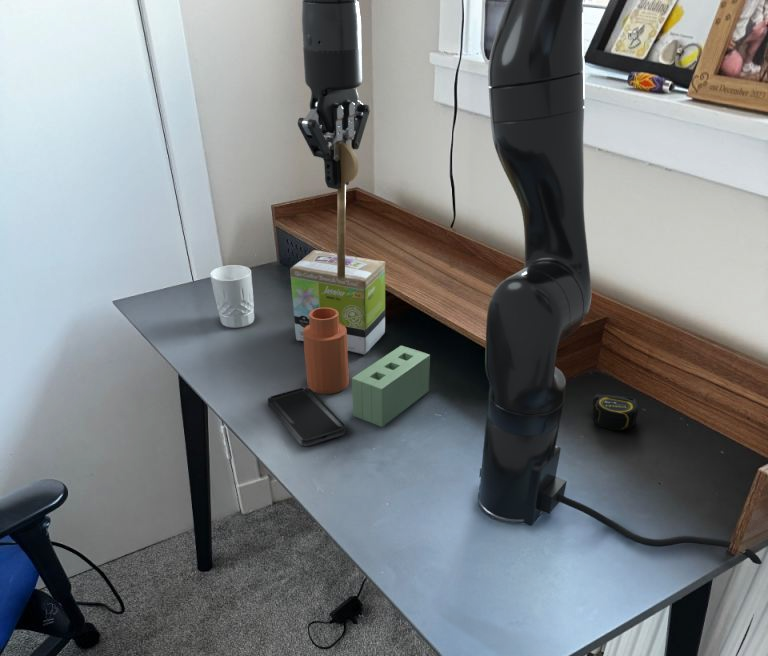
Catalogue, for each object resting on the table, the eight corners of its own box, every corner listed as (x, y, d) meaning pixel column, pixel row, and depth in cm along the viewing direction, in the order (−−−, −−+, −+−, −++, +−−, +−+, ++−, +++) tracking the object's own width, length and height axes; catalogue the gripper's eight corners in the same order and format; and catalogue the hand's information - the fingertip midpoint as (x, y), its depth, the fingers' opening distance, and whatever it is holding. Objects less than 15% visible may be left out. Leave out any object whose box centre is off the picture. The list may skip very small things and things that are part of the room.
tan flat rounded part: (356, 284, 112) (359, 146, 99) (351, 286, 111) (354, 148, 98) (330, 274, 114) (329, 138, 101) (325, 277, 113) (324, 140, 100)
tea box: (294, 342, 139) (287, 266, 129) (318, 321, 146) (313, 247, 136) (366, 356, 134) (364, 278, 125) (386, 333, 141) (386, 258, 132)
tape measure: (633, 414, 118) (638, 394, 116) (634, 437, 113) (640, 416, 110) (591, 409, 119) (595, 389, 117) (590, 431, 114) (594, 411, 112)
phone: (307, 386, 123) (347, 427, 113) (308, 391, 124) (347, 433, 114) (264, 398, 120) (301, 441, 110) (265, 404, 121) (302, 448, 111)
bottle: (356, 380, 127) (354, 311, 119) (331, 398, 123) (326, 327, 114) (325, 369, 130) (320, 300, 122) (299, 386, 126) (292, 315, 118)
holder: (428, 391, 124) (430, 354, 120) (382, 427, 116) (381, 388, 111) (400, 381, 127) (401, 345, 122) (353, 415, 118) (351, 378, 114)
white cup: (254, 329, 143) (247, 280, 137) (214, 329, 143) (206, 280, 137) (259, 312, 149) (253, 264, 143) (221, 312, 149) (214, 264, 143)
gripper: (320, 53, 87) (328, 203, 98) (386, 39, 95) (386, 179, 106) (274, 47, 90) (286, 193, 101) (342, 35, 98) (346, 171, 110)
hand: (337, 185), depth 104 cm, fingers closed on tan flat rounded part, 1 cm apart
